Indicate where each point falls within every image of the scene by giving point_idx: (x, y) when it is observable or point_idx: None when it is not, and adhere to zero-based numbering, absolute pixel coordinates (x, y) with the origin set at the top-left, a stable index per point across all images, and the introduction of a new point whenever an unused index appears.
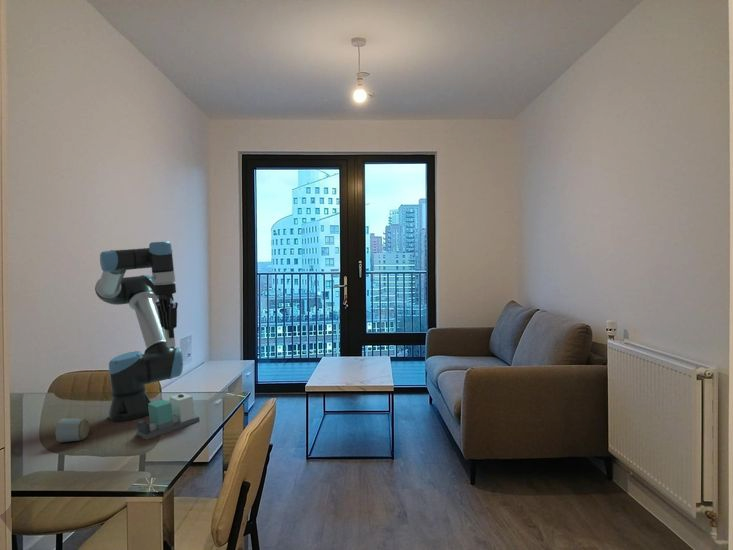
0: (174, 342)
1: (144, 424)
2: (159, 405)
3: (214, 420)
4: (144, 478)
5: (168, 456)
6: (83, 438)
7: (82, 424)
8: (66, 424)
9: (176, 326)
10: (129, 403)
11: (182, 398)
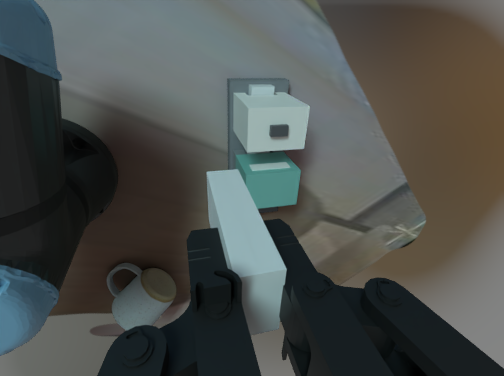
0: (244, 186)
1: (270, 209)
2: (289, 196)
3: (318, 51)
4: (388, 233)
5: (368, 194)
6: (167, 273)
7: (170, 295)
8: (156, 319)
9: (400, 286)
10: (98, 207)
11: (298, 135)
